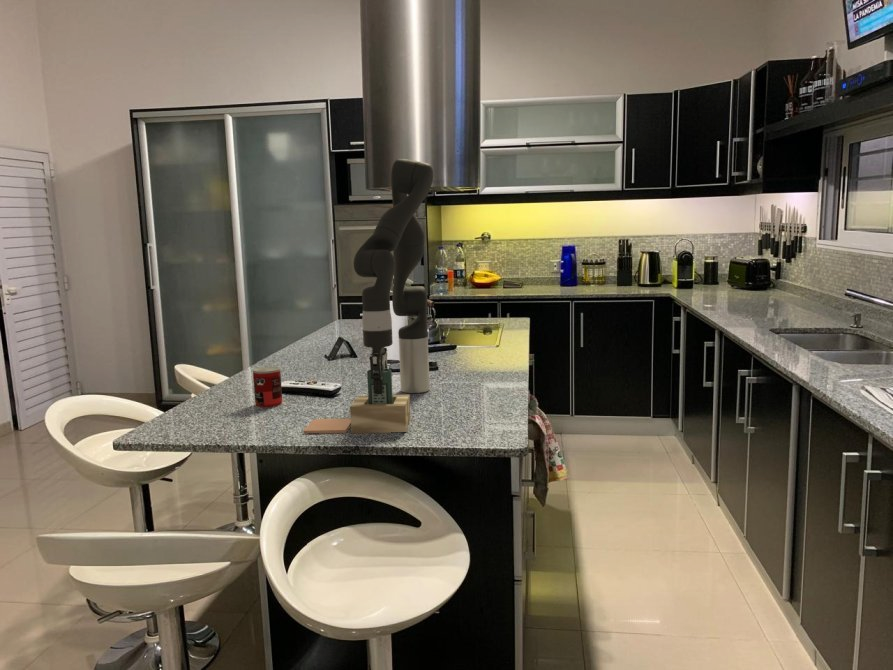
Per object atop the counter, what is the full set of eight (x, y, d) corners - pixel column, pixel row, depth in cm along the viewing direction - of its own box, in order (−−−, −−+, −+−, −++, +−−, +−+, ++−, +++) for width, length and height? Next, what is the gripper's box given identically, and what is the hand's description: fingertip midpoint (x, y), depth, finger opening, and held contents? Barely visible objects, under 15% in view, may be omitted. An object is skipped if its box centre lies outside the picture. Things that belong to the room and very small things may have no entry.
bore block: (359, 420, 192) (358, 395, 191) (410, 419, 192) (409, 394, 190) (351, 433, 180) (349, 406, 179) (406, 432, 180) (404, 405, 179)
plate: (313, 422, 192) (313, 419, 192) (353, 421, 192) (353, 418, 192) (303, 433, 182) (303, 430, 181) (345, 433, 181) (345, 430, 181)
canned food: (254, 403, 216) (251, 368, 214) (280, 400, 219) (278, 365, 217) (256, 409, 209) (254, 372, 207) (284, 405, 212) (281, 369, 210)
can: (394, 423, 189) (392, 368, 187) (392, 429, 183) (389, 372, 181) (372, 423, 189) (369, 368, 187) (368, 430, 183) (365, 373, 181)
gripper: (388, 331, 175) (391, 397, 177) (395, 323, 189) (397, 384, 191) (358, 332, 175) (361, 397, 178) (367, 324, 189) (370, 385, 192)
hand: (380, 390), depth 185 cm, fingers closed on can, 6 cm apart
